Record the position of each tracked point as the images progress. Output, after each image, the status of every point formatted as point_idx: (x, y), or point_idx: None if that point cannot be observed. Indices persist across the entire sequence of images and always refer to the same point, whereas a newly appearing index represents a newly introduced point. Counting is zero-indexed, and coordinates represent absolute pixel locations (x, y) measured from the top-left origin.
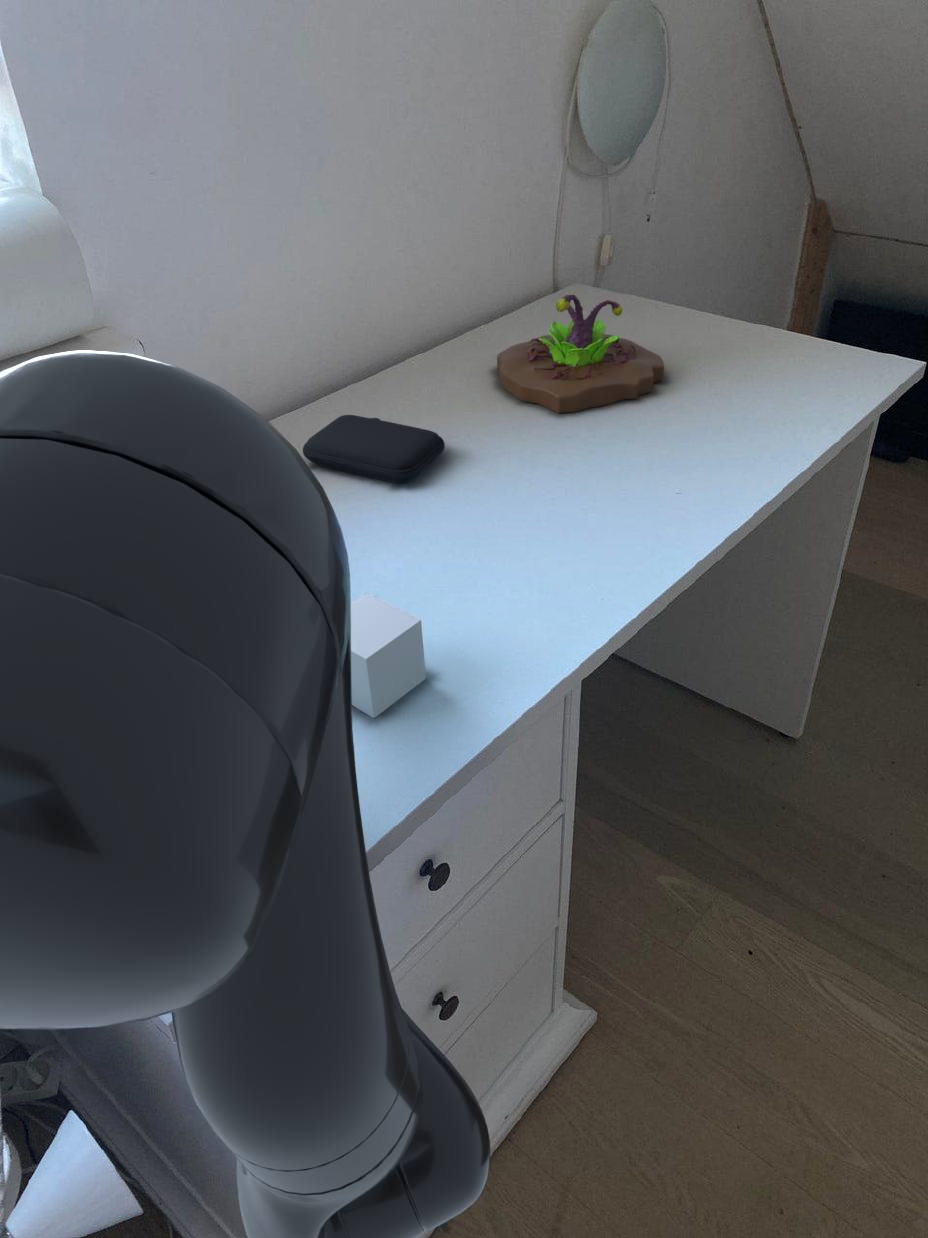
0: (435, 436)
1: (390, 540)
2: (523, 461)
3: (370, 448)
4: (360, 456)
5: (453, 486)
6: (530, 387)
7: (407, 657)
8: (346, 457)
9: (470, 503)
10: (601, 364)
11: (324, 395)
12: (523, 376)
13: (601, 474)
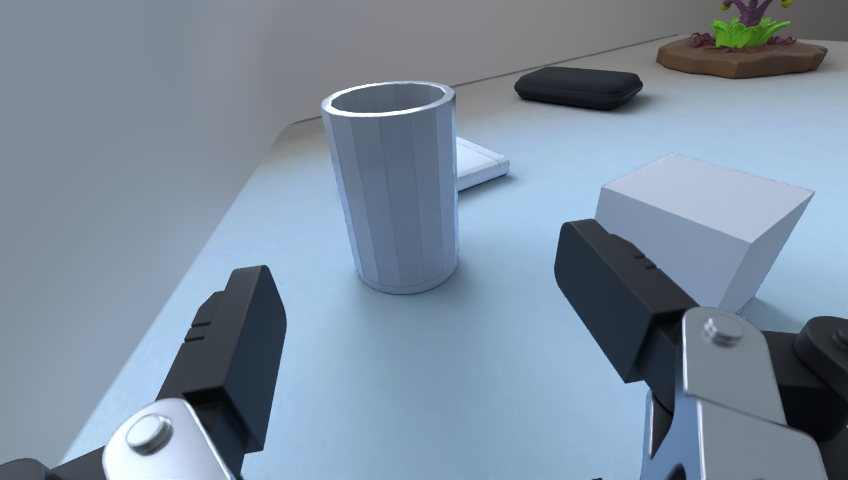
0: (636, 75)
1: (612, 144)
2: (721, 101)
3: (579, 79)
4: (570, 84)
5: (659, 113)
6: (704, 58)
7: (768, 256)
8: (555, 87)
9: (685, 124)
10: (766, 46)
11: (522, 71)
12: (693, 54)
13: (823, 111)
